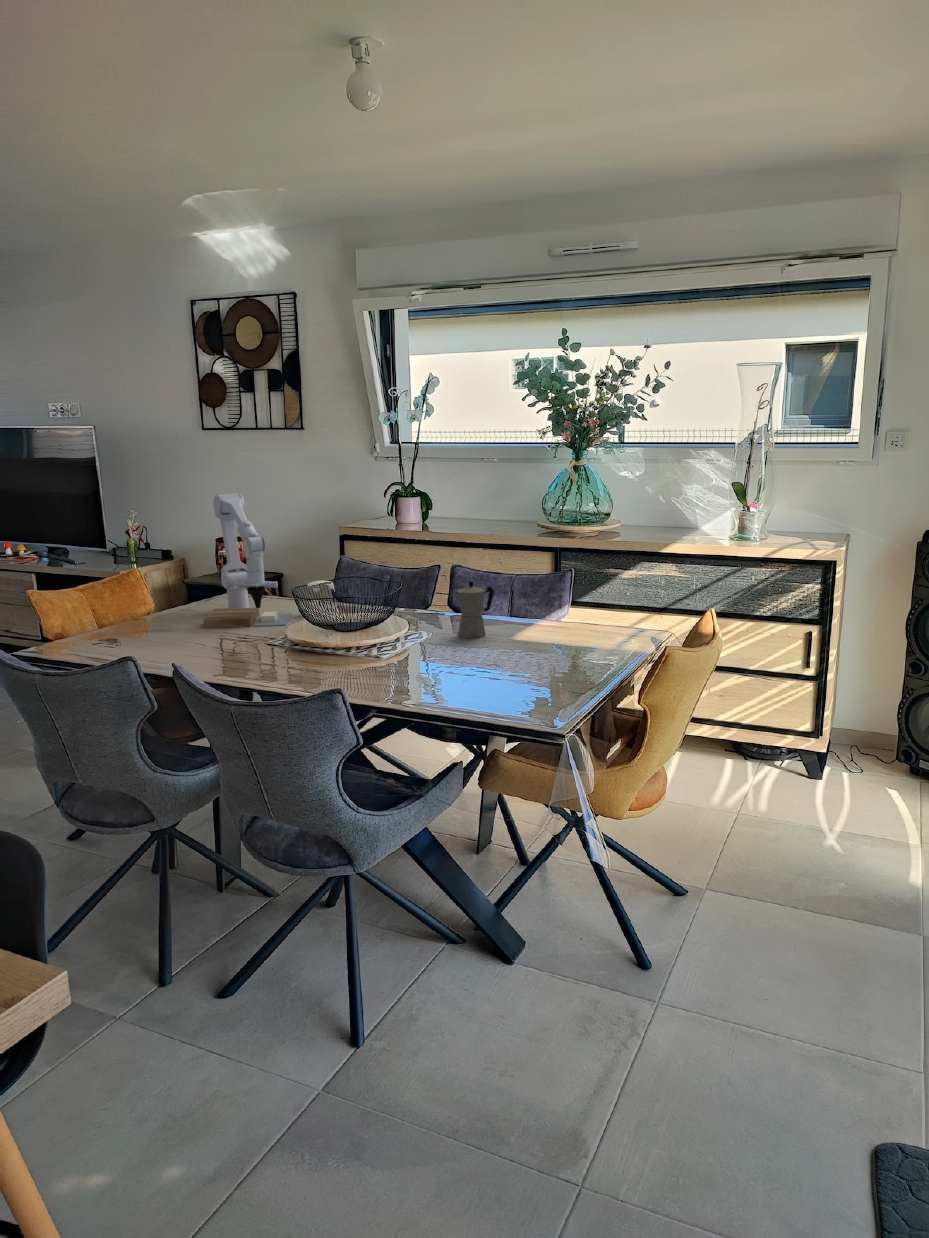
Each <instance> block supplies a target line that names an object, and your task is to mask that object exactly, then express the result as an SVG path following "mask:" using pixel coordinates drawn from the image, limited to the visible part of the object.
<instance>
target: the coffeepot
mask: <svg viewBox="0 0 929 1238" xmlns="http://www.w3.org/2000/svg"><path fill="white" fill-rule="evenodd" d="M468 585H469V586H467V587H463V588H460V589H457V590H456V591H455V592H453V595H454V596H455V598H456V599H457V601H458V603H459V608H460V609H459V610H460V611H461V615H460V618H459V619H460V620H459V625H458V626H459V627H458V632H457V633H458V636H459V637H460V638H465V639H477V638H482V637H484V636H486V630H485V629H486V628H485V623H484V618H483V613H482V611H484V612H487V611H490V609H491V605H492V602H493V598H494V595H495V590H494V589H493V588H492V587H491V586H490V585H487V586H481V587H475V586H474V581H472V580H471V581H468ZM486 593H489V594H488V596H487V597H488V598H487V602H486V607H484V604H485V603H484V601H485V596H486Z"/></svg>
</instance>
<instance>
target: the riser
mask: <svg viewBox="0 0 929 1238" xmlns="http://www.w3.org/2000/svg"><path fill="white" fill-rule="evenodd" d="M259 609H260V608H256V606H255V607H254V606H253V607H251V608H222V607H221V608H220V607H219V608H213V610H211V612H210V613H208V615H206V617H205V618H204V619H203V629H217V628H219V629H220V628H223V629H224V628H243V627H242V626H251V627H252V626H253V625H254V624H255V623H256V622H255V621H257V620H258V618H259V617H260V611H259ZM257 617H258V618H257Z"/></svg>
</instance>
